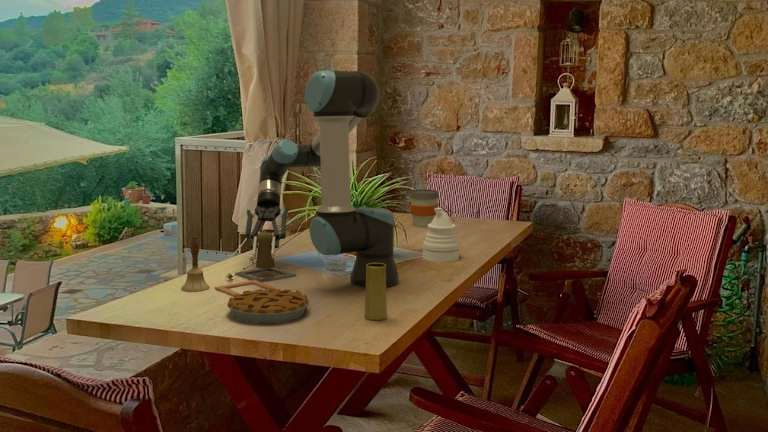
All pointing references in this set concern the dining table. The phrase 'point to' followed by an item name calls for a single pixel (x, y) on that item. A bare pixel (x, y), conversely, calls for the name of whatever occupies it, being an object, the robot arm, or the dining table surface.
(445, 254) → the honey pot
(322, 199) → the robot arm
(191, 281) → the hand bell
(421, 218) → the reusable coffee cup
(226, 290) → the frame
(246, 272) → the frame
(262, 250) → the cork
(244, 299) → the pie
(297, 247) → the dining table surface
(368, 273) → the vase
